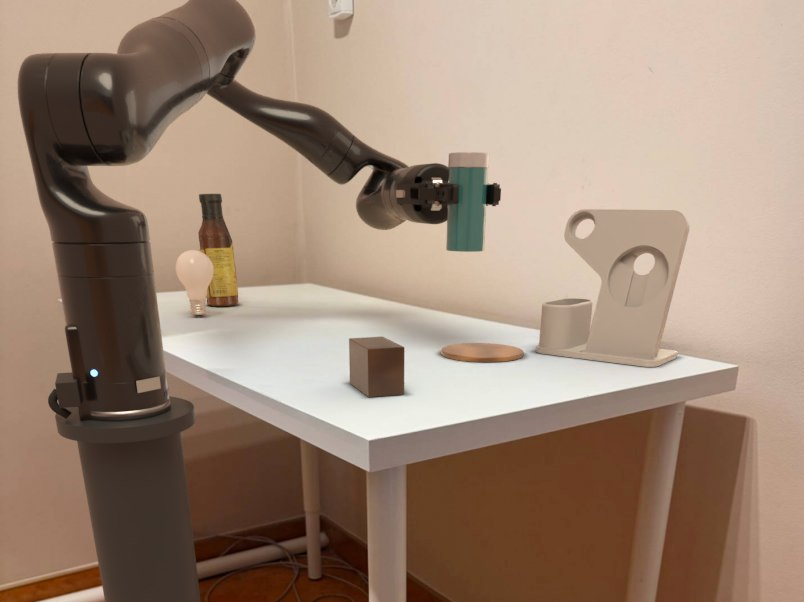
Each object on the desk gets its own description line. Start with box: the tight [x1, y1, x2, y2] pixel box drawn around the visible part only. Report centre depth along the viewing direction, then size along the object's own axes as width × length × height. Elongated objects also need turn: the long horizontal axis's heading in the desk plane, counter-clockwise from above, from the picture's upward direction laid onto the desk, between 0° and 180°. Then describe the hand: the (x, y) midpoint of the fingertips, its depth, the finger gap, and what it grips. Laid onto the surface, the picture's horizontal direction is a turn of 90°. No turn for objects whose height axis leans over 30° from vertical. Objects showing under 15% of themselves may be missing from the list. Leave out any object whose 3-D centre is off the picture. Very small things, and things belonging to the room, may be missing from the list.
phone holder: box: [535, 208, 690, 368], centre depth 99 cm, size 17×10×18 cm, turn 53°
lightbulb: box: [174, 249, 214, 318], centre depth 131 cm, size 6×6×11 cm
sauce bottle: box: [198, 193, 239, 307], centre depth 144 cm, size 6×6×20 cm
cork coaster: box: [440, 342, 524, 363], centre depth 102 cm, size 11×11×1 cm
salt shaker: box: [445, 151, 490, 253], centre depth 94 cm, size 5×11×11 cm
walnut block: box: [348, 336, 405, 398], centre depth 82 cm, size 4×7×5 cm, turn 20°
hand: (476, 194), depth 91 cm, fingers closed on salt shaker, 4 cm apart
